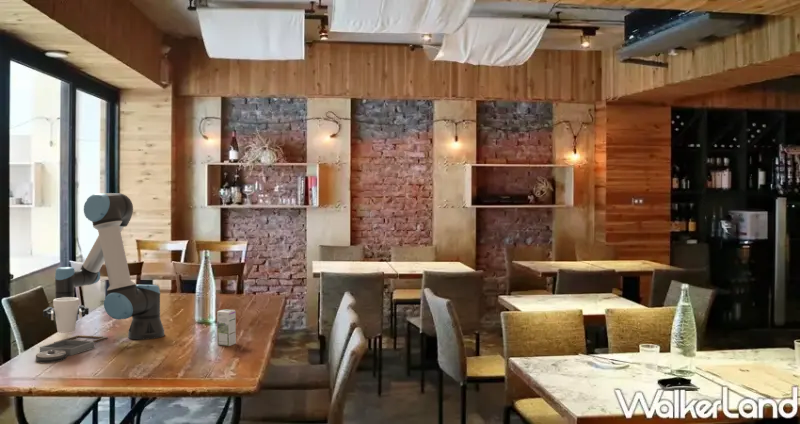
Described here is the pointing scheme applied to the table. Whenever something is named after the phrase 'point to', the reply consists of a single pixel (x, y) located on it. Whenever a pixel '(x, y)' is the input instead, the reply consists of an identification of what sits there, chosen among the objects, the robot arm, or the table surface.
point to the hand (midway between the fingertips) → (66, 315)
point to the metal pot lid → (51, 356)
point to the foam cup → (66, 313)
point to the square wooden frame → (100, 338)
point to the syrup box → (226, 327)
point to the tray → (69, 346)
